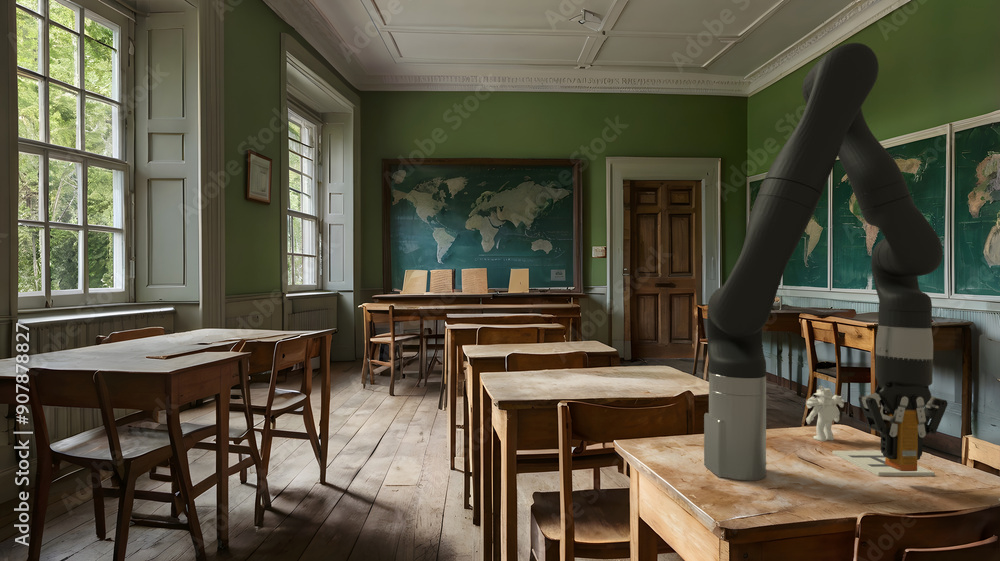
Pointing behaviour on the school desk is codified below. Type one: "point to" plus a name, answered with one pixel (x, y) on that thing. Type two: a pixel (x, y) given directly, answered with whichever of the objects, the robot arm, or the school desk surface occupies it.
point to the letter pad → (878, 463)
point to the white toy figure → (824, 412)
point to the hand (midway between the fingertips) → (901, 457)
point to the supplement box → (906, 443)
